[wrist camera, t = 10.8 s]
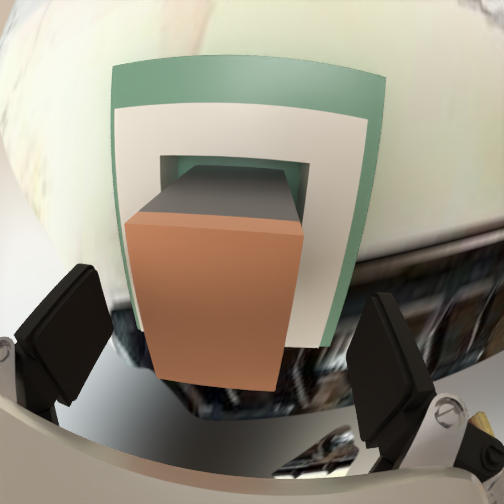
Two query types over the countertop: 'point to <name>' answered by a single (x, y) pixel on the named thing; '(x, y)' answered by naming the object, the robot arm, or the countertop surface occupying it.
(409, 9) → the countertop surface
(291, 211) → the plug
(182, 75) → the board
